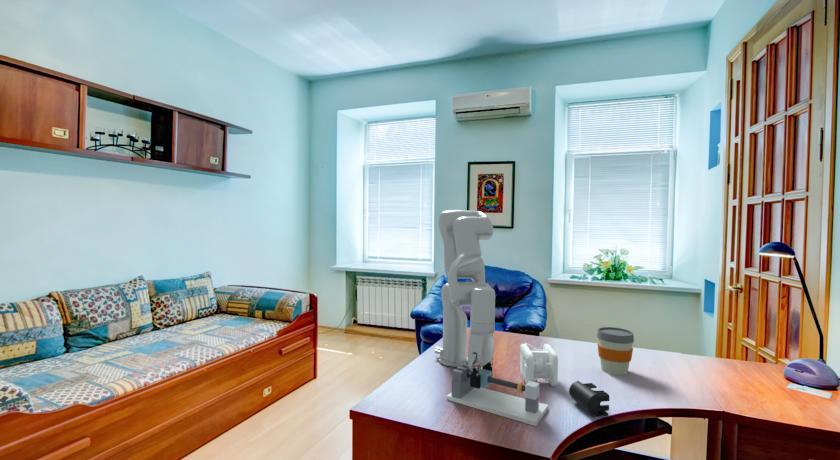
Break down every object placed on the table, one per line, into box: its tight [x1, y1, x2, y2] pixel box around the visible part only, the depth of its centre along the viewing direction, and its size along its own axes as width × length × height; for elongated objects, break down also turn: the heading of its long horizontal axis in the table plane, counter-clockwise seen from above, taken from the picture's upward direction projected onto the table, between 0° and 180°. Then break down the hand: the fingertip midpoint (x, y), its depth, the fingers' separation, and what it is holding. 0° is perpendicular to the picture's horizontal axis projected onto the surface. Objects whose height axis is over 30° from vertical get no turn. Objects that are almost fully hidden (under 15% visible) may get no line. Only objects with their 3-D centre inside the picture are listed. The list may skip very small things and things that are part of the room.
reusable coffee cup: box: [596, 326, 635, 376], centre depth 150 cm, size 13×13×15 cm
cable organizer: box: [519, 343, 559, 388], centre depth 139 cm, size 15×11×12 cm
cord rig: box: [446, 361, 549, 427], centre depth 121 cm, size 28×12×9 cm, turn 57°
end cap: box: [568, 380, 610, 418], centre depth 118 cm, size 10×7×7 cm
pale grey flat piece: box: [524, 342, 543, 351], centre depth 170 cm, size 25×24×1 cm
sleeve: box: [475, 367, 493, 389], centre depth 123 cm, size 5×4×4 cm
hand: (481, 382), depth 123 cm, fingers open, 8 cm apart
